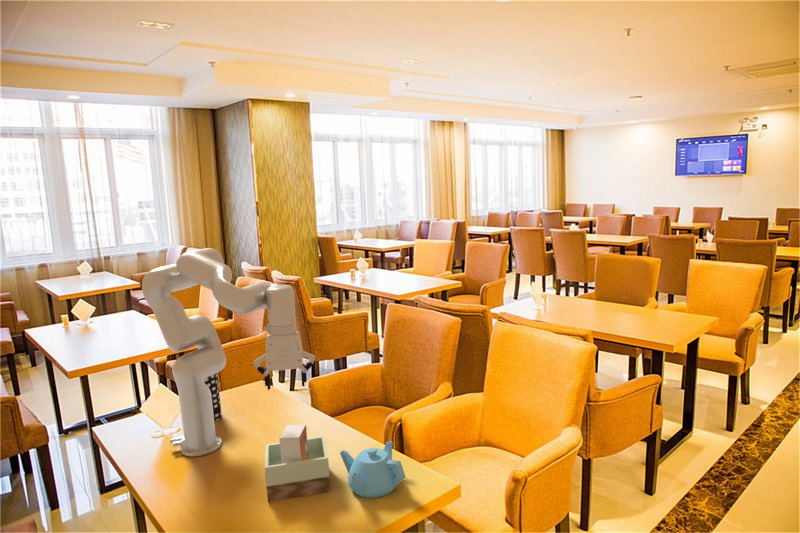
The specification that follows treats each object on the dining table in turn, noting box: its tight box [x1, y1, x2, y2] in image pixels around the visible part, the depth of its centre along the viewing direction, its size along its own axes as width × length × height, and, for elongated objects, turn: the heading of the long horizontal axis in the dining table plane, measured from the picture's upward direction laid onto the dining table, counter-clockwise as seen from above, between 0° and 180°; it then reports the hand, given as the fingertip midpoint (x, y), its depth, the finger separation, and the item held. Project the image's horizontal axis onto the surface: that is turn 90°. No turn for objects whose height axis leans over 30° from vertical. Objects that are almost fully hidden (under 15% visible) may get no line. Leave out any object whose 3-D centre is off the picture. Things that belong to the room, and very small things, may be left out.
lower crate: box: [266, 476, 332, 503], centre depth 150 cm, size 17×13×4 cm
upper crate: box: [264, 435, 330, 488], centre depth 149 cm, size 17×13×5 cm
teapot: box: [339, 440, 407, 499], centre depth 146 cm, size 15×15×11 cm
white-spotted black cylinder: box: [204, 373, 223, 423], centre depth 193 cm, size 8×8×20 cm
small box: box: [279, 424, 309, 464], centre depth 148 cm, size 8×6×10 cm
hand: (286, 386), depth 154 cm, fingers open, 9 cm apart
